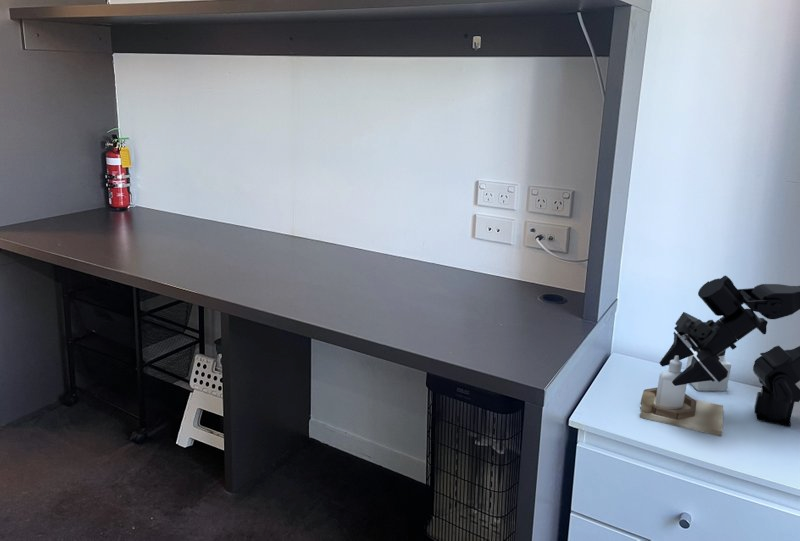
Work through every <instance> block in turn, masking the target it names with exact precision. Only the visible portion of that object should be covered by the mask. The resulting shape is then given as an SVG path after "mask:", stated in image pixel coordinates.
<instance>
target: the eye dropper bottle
mask: <svg viewBox="0 0 800 541" xmlns="http://www.w3.org/2000/svg"><path fill="white" fill-rule="evenodd" d="M682 365H683V363H682V361H681V360H679V356H677V355H676V356H675V358H674V360H670V364H669V365H668V369H666V370H663V371H661V372H660V373H659V376H658V383H657V387H656V388H657V394H656V400H655V402H656V404H657V406H658V407H662V408H666V409H680V408H682V407H683V403H684V398H685V394H686V391H687V384H683V385H678V386H675V385H674V384H673V383H672V381H673V380H674V379H675V378H676V377H677V376H678V375H679V374H681V373H682V372H683V371H682Z"/></svg>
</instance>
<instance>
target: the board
mask: <svg viewBox="0 0 800 541" xmlns="http://www.w3.org/2000/svg"><path fill="white" fill-rule="evenodd" d="M656 394H657V387H652V388H647V389H644V390H643V392H642V395H641V398H640V399H641V400H640V417H639V418H642V419H646V420H650V421H654V422H659V423H663V424H666V425H667V424H668V425H670V426H671V425H672V426H676V427H678V428H679V427H680V428H684V429H687V430H693V431H697V432H699V433H700V432H702V433H706V434H709V435H713V436H719V437H722V435H723V419H724V405H723V404H717V403H713V402H708V401H705V400H704V401H703V400H698V399H695V398H693V397H691V396H690V395H688V394H687V393H685V398H684V403H683V407H682V408H680V409H666V408H662V407H658V406H657V404H656V402H655V400H656Z"/></svg>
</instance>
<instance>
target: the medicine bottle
mask: <svg viewBox="0 0 800 541" xmlns="http://www.w3.org/2000/svg"><path fill="white" fill-rule="evenodd" d="M691 351H692V350H691ZM726 351H727V349H726V350H725V351H723V352H722V353H720V354H719V355H718V357H719V358H720V359H719V361H720V363H721V364H722V365H723V366H724V367H725V368H726V369H727V371H728V375H727V377H726V378H725V379H724V380H722V381H721V382H718V381H717V379H716V378H715V377H714V378H713V379H714V380H715V381H714V382H713V381H703V382H695V383H690V385H692V386H693V388H694V389H695V390H696V391H697V392H698V391H699V392H726V391H727V389H728V385H729V380H730V375H731V370H732V363H731V362H729V360H728V359H726V358H725V357H726V356H725V355H726ZM692 352H693V353H694V355H692V356H689V357H687V360H686V365H685V369H686V368H688V367H689V366H690V365H691V361H692V357H693V356H694V357H695V358H696V359H697V360H698V361H700V360H699V359H698V358H697V354H698V353H697V352H696V351H695V352H694V350H693V351H692Z"/></svg>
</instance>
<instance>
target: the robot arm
mask: <svg viewBox="0 0 800 541" xmlns="http://www.w3.org/2000/svg"><path fill="white" fill-rule="evenodd" d="M697 294H698V295H697V296H698V297H699V298H700V299H701V300H702V301H703V302H704V304H705V305H706V306H707V307H708V308H709V309H710V311H711V312H712V313H713V315H715V316H716V317H720V318H719V319H717V320H715V321H714V319H708V320H706V321H702V320H701V319H700V318H697V317H695V316H693V315H692V314H689V313H687V312H685V311H683V312H682V313H681V314H680V316H679V317H678V319H677V320H676V322H675V327H673V329H674V330H675V331H673V343H672V344H671V346H670V347H669V349H668V351H667V352H665V354H664V356H663V357H662V358H661V360H660V361H659V365H660V366H661V367H666V366H669V364H670V360H674V358H675V356H676V355H677V356H679V361H681V360H684V359H686V358H687V359H688V357H689V356H692V355H694V353H693V352H692V350H693V351H694V352H695V351H696V352H697V353H698V354H697V358H698V359H699V360H700V361H698V360H697V359H696V358H695V357H694V356H693V357H692V361H691V365H690V366H689V367H688V368H686V367H685V369H684V370H682V371H681V372H682V373H681V374H679V375H678V376H677V377H676V378H675V379H674V380H673V381H672V383H673V384H674V385H675V386H678V385H683V384H691V383H695V382H703V381H713V382H714V381H715V380H714V379H713V378H714V377H715V378H716V379H717V381H718V382H721V381H722V380H724V379H725V378H726V377H727V375H728V371H727V369H726V368H725V367H724V366H723V365H722V364H721V363H720V361H719V359H720V358H719V357H718V355H719V354H720V353H722V352H723V351H725V350H726V351H727V349H729V348H730V349H732V351H733V350H736V348H737V345H736V343H737V342H738V341H740V340H741V339H743V338H745V336H747V335H749V334H750V333H752V332H753V331H754V330H756V329H757V330H758V331H759V332H760V333H761V334H762V335H766V334H767V325H768V320H778V319H783V318H785V317H788V316H792V315H794V314H796V313H797V312H798V311H800V285H785V284H781V283H780V284H779V283H760V284H759V285H756V286H754V287H751V288H739V289H738V288H737V287H736V286H735V284H734V282H733V280H732V279H731V278H729V277H728V276H727V275H723V276H722V277H720V278H719V277H718V278H714V279H712V280H710V281H709V280H708V281H707V282H706V283H704V284H702V286H701V287H700V288H699V289H698V292H697ZM742 305H746V307H747V308H745V307H743V306H742ZM756 313H759V314H761V316H763V317H764V318H763V317H759V316H758V314H756ZM721 316H722V317H721ZM766 319H767V320H766ZM759 354H760V355H761V356H759V357H757V358H756V359H755V360H754V363H753V366H752V368H753V369H752V370H753V373H754V375H755V376H756V378H758V382H759V383H760V384H761V387H760V388H761V389H760V391H757V393H756V398H755V402H754V408H753V409H754V410H753V411H754V414H755V416H756V417H755V418H756V420H757V421H761V422H765V423H769V424H774V425H779V426H784V427H787V428H791V427H792V421H791V418H792V416H793V410H794V406H795V403H799V402H800V388H799V387H798V386H797V384H798V383H799V382H800V345H799V346H797V347H795V348H792V349H784V348H782V347H781V346H780V345H776V346H773V347H772V348H770V349H769V350H767V351H764V352H761V353H759Z"/></svg>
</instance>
